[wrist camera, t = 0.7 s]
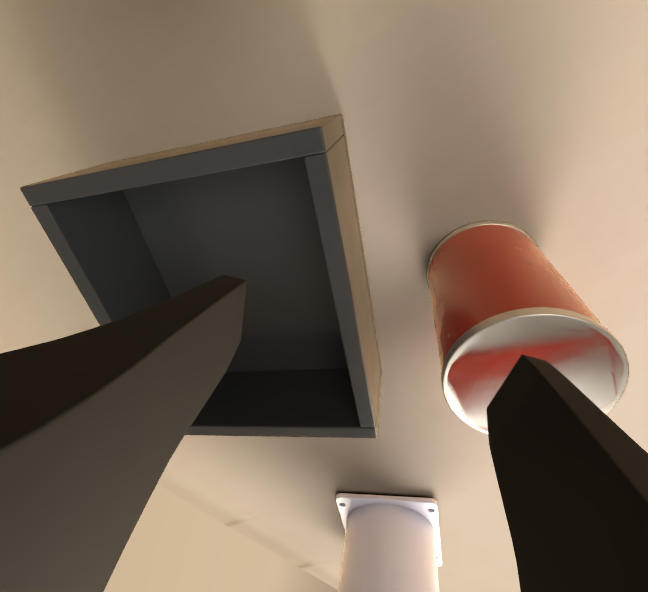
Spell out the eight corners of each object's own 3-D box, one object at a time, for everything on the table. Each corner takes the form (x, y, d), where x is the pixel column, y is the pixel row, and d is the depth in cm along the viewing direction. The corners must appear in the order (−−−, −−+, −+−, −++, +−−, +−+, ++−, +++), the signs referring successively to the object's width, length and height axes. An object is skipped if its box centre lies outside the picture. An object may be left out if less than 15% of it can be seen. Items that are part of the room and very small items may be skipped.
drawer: (382, 370, 23) (378, 439, 18) (203, 375, 26) (164, 435, 21) (342, 113, 16) (321, 125, 11) (105, 163, 19) (18, 187, 15)
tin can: (535, 312, 19) (612, 442, 12) (429, 318, 20) (445, 439, 13) (545, 213, 16) (648, 307, 10) (423, 228, 18) (438, 320, 11)
